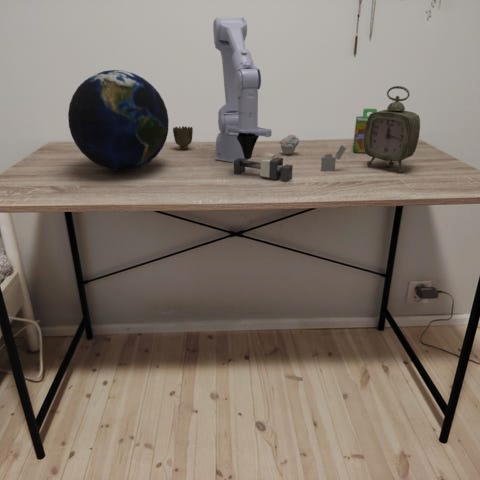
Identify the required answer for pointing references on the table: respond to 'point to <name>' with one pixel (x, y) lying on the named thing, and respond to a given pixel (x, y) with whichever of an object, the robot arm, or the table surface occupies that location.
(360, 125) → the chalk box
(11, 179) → the table surface
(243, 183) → the table surface
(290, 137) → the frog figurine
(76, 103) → the globe
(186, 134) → the cup
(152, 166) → the table surface
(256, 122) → the robot arm
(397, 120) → the tabletop clock
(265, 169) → the sleeve
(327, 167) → the lighter
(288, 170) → the linear slide rail
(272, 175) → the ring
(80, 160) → the table surface
